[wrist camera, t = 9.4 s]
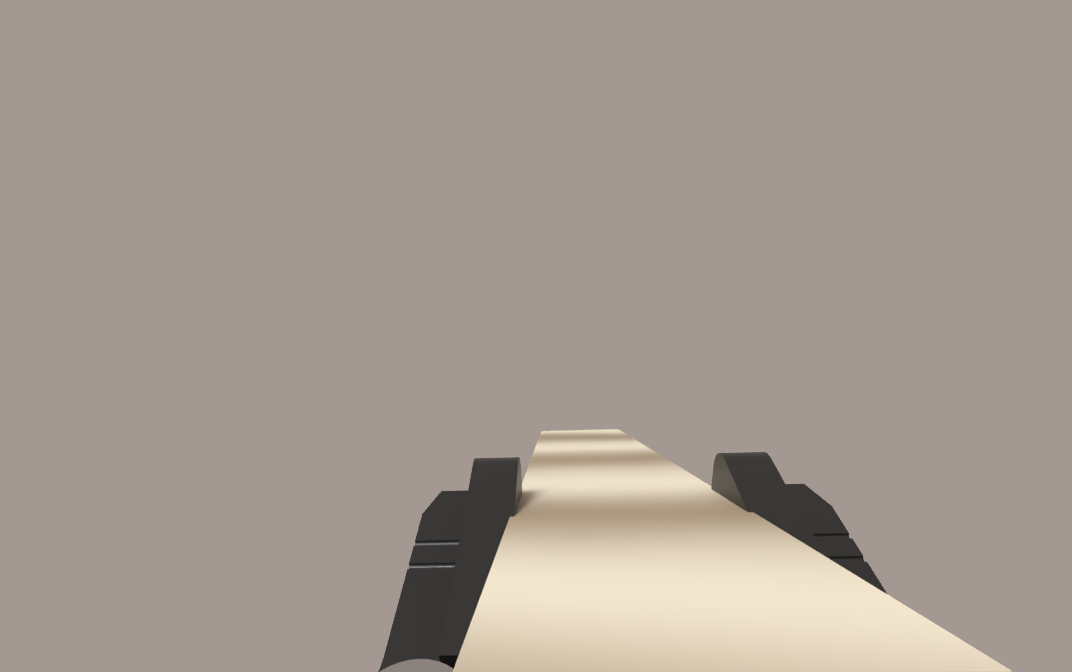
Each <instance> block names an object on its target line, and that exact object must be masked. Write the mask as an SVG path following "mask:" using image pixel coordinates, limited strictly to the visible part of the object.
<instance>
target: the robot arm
mask: <svg viewBox="0 0 1072 672" xmlns="http://www.w3.org/2000/svg"><path fill="white" fill-rule="evenodd" d="M711 489H712V490H713V491H715V492H717V493H718V494H720V495H721V496H723V497H724V498H726V499H728V500H729V501H731V502H732V503H734V504H735V505H737V506H739V507H740V508H742V509H743V510H745V511H747V512H754V513H755V514H757V515H759V516H760V517H762V518H763V519H765V520H767V521H768V522H770V523H772V524H773V525H775V526H776V527H778V528H780V529H781V530H783V531H785V532H786V533H788V534H790V535H791V536H793V537H794V538H796V539H798V540H799V541H801V542H803V543H804V544H806V545H807V546H809V547H811V548H812V549H814V550H816V551H817V552H819V553H820V554H822V555H824V556H825V557H827V558H829V559H830V560H832V561H833V562H835V563H837V564H838V565H840V566H842V567H843V568H845V569H847V570H848V571H850V572H851V573H853V574H855V575H856V576H858V577H860V578H861V579H863V580H864V581H866V582H868V583H869V584H871V585H873V586H874V587H876V588H877V589H879V590H881V591H882V592H884V593H886V591H885V590H884V588H883V587H882V585H881V583H880V582H879V580H878V579H877V577H876V576H875V574H874V572H873V571H872V569H871V567H870V566H869V564H868V563H867V562H864V560H863V555H862V553H861V552H860V550H859V548H858V547H857V545H856V544H855V542H854V541H853V539H850V538H849V533H848V531H847V530H846V528H845V526H844V525H843V523H842V522H841V520H840V518H839V517H838V515H837V514H836V512H835V510H834V509H833V507H832V506H831V505H830V504H828V503H827V502H826V501H825V500H823V499H822V498H821V497H820V496H818V495H817V494H816V493H815V492H813V491H812V490H811V489H810V488H808V487H807V486H806V485H805V484H785V483H784V481H783V479H782V477H781V476H780V474H779V472H778V470H777V468H776V467H775V465H774V463H773V462H772V459H771V458H770V456H769V455H768V454H767V453H765V452H752V453H718V454H717V455H716V457H715V461H714V468H713V477H712V487H711ZM521 495H522V480H521V464H520V458H519V457H515V458H475V459H474V462H473V467H472V473H471V479H470V484H469V490H468V491H442V492H441V493H440V494H439V495H438V496H437V497H436V498H435V500H434V501H433V502H432V503H431V505H430V506H429V507H428V508H427V509H426V510H425V512H424V513H423V514H422V518H421V521H420V525H419V529H418V532H417V536H416V540H415V546H414V547H413V551H412V555H411V559H410V562H409V569H408V570H407V573H406V577H405V581H404V584H403V588H402V592H401V595H400V599H399V603H398V607H397V610H396V614H395V618H394V621H393V625H392V629H391V632H390V636H389V640H388V644H387V647H386V651H385V655H384V658H383V661H382V664H381V667H380V669H379V671H378V672H453V669H454V667H455V664H456V661H457V659H458V656H459V653H460V651H461V648H462V645H463V642H464V640H465V637H466V634H467V632H468V629H469V626H470V623H471V621H472V618H473V615H474V613H475V610H476V607H477V604H478V602H479V599H480V596H481V594H482V591H483V588H484V586H485V583H486V580H487V577H488V575H489V572H490V569H491V567H492V564H493V561H494V558H495V556H496V553H497V550H498V548H499V545H500V542H501V540H502V537H503V534H504V531H505V529H506V526H507V523H508V521H509V518H510V517H514V516H515V513H516V510H517V507H518V504H519V501H520V498H521ZM886 594H887V593H886Z"/></svg>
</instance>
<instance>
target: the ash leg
mask: <svg viewBox="0 0 1072 672" xmlns="http://www.w3.org/2000/svg"><path fill="white" fill-rule="evenodd" d="M453 672H1012V671H1011V670H1009V669H1008V668H1006V667H1004V666H1003V665H1001V664H1000V663H998V662H996V661H995V660H993V659H991V658H990V657H988V656H987V655H985V654H983V653H982V652H980V651H978V650H977V649H975V648H974V647H972V646H970V645H969V644H967V643H965V642H964V641H962V640H961V639H959V638H957V637H956V636H954V635H952V634H951V633H949V632H947V631H946V630H944V629H943V628H941V627H939V626H938V625H936V624H934V623H933V622H931V621H930V620H928V619H926V618H925V617H923V616H921V615H920V614H918V613H917V612H915V611H913V610H912V609H910V608H908V607H907V606H905V605H903V604H902V603H900V602H899V601H897V600H895V599H894V598H892V597H890V596H889V595H887V594H886V593H884V592H882V591H881V590H879V589H877V588H876V587H874V586H873V585H871V584H869V583H868V582H866V581H864V580H863V579H861V578H860V577H858V576H856V575H855V574H853V573H851V572H850V571H848V570H847V569H845V568H843V567H842V566H840V565H838V564H837V563H835V562H833V561H832V560H830V559H829V558H827V557H825V556H824V555H822V554H820V553H819V552H817V551H816V550H814V549H812V548H811V547H809V546H807V545H806V544H804V543H803V542H801V541H799V540H798V539H796V538H794V537H793V536H791V535H790V534H788V533H786V532H785V531H783V530H781V529H780V528H778V527H776V526H775V525H773V524H772V523H770V522H768V521H767V520H765V519H763V518H762V517H760V516H759V515H757V514H755V513H754V512H747V511H745V510H743V509H742V508H740V507H739V506H737V505H735V504H734V503H732V502H731V501H729V500H728V499H726V498H724V497H723V496H721V495H720V494H718V493H717V492H715V491H713V490H712V489H711V486H710V485H708V484H706V483H705V482H703V481H702V480H700V479H698V478H697V477H695V476H693V475H692V474H690V473H689V472H687V471H685V470H684V469H682V468H680V467H679V466H677V465H675V464H674V463H672V462H671V461H669V460H667V459H666V458H664V457H662V456H661V455H659V454H658V453H656V452H654V451H653V450H651V449H649V448H648V447H646V446H644V445H643V444H641V443H640V442H638V441H636V440H635V439H633V438H632V437H630V436H628V435H627V434H625V433H623V432H622V431H620V430H618V429H614V430H568V431H541V434H540V437H539V439H538V442H537V445H536V447H535V450H534V453H533V456H532V458H531V461H530V464H529V466H528V469H527V472H526V475H525V477H524V480H523V483H522V495H521V498H520V501H519V504H518V507H517V510H516V513H515V516H514V517H510V518H509V521H508V523H507V526H506V529H505V531H504V534H503V537H502V540H501V542H500V545H499V548H498V550H497V553H496V556H495V558H494V561H493V564H492V567H491V569H490V572H489V575H488V577H487V580H486V583H485V586H484V588H483V591H482V594H481V596H480V599H479V602H478V604H477V607H476V610H475V613H474V615H473V618H472V621H471V623H470V626H469V629H468V632H467V634H466V637H465V640H464V642H463V645H462V648H461V651H460V653H459V656H458V659H457V661H456V664H455V667H454V669H453Z"/></svg>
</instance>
